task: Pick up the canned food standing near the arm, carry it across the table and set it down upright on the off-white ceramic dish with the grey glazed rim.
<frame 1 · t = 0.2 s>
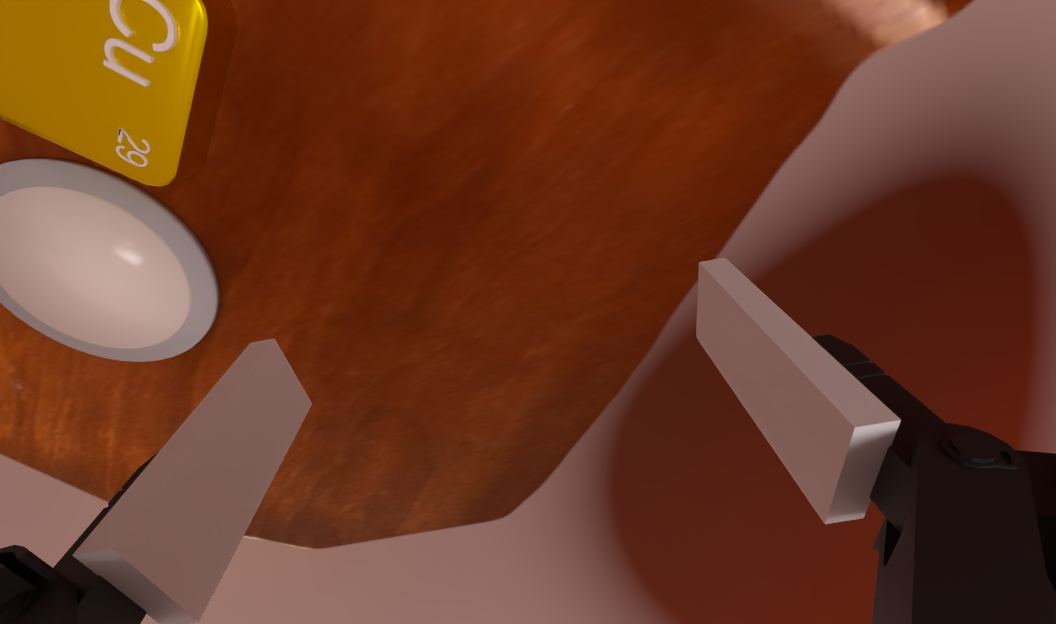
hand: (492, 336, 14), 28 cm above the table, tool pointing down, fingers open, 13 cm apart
dish: (102, 269, 41), on the table
element tile: (116, 43, 33), on the table
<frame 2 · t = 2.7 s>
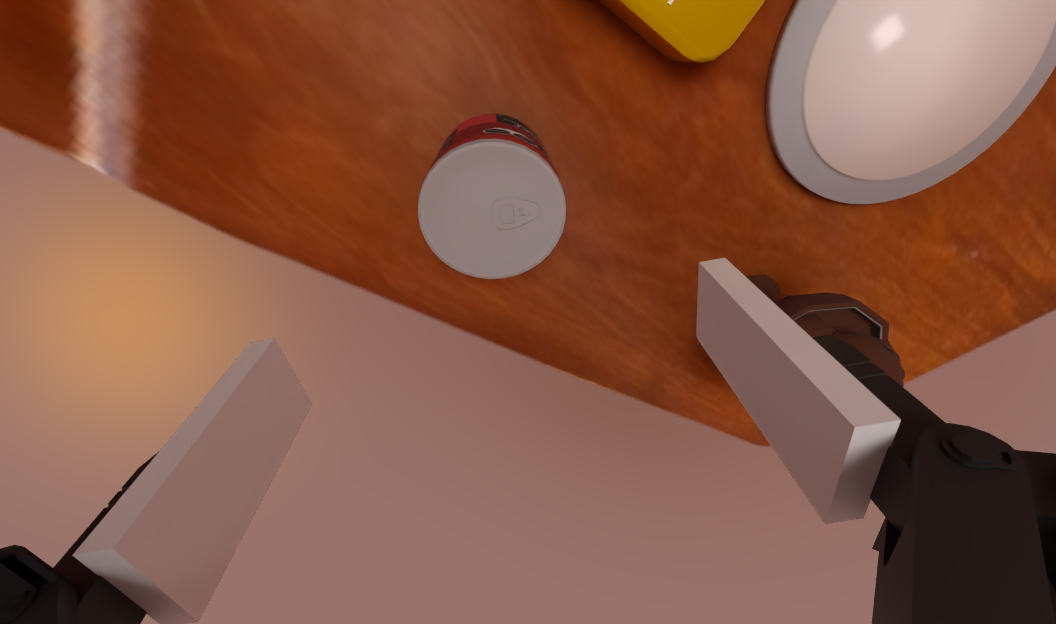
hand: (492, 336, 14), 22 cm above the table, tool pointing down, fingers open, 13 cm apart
canned food: (493, 167, 33), on the table
ice cream bowl: (748, 300, 40), on the table
dish: (909, 59, 31), on the table
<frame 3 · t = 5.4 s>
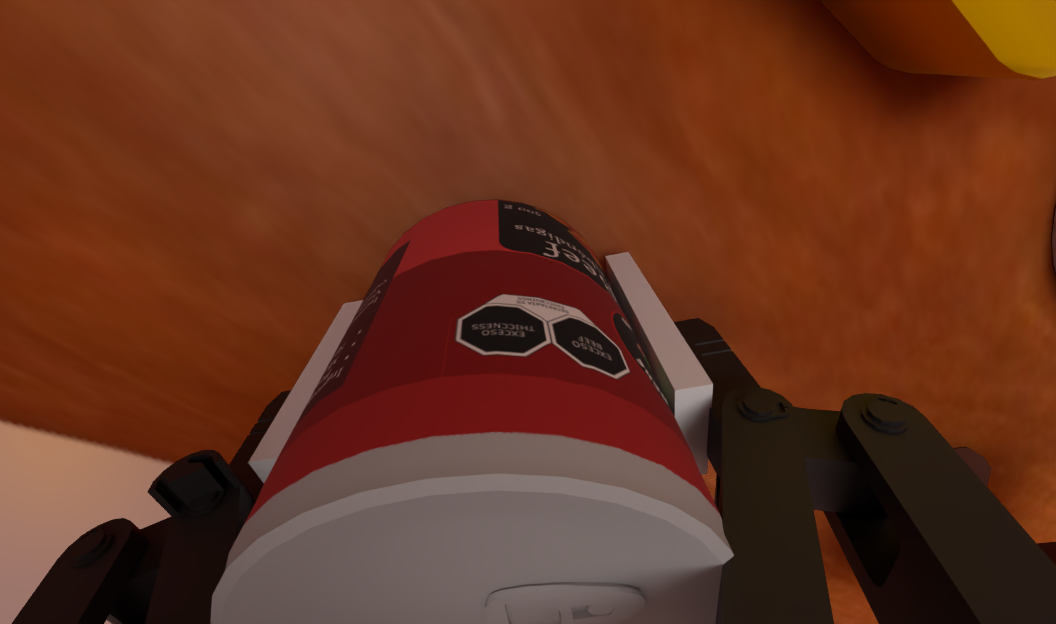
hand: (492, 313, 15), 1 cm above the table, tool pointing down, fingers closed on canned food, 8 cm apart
canned food: (493, 292, 16), on the table, touching gripper
ice cream bowl: (926, 479, 24), on the table
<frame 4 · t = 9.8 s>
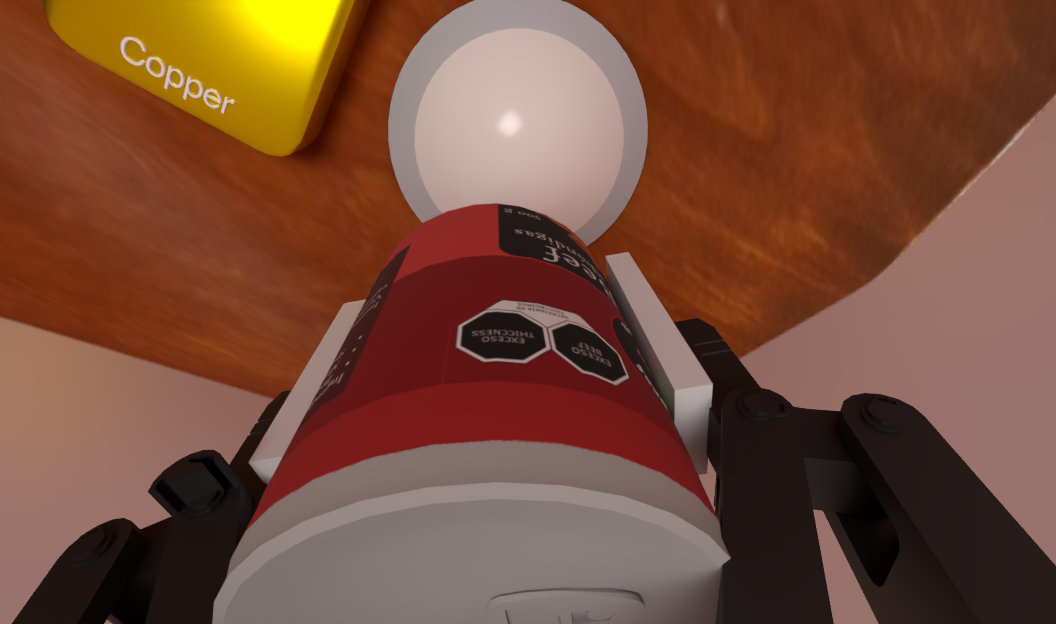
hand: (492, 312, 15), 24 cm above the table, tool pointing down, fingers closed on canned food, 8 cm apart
canned food: (493, 295, 16), point 22 cm above the table, touching gripper
dish: (519, 148, 35), on the table
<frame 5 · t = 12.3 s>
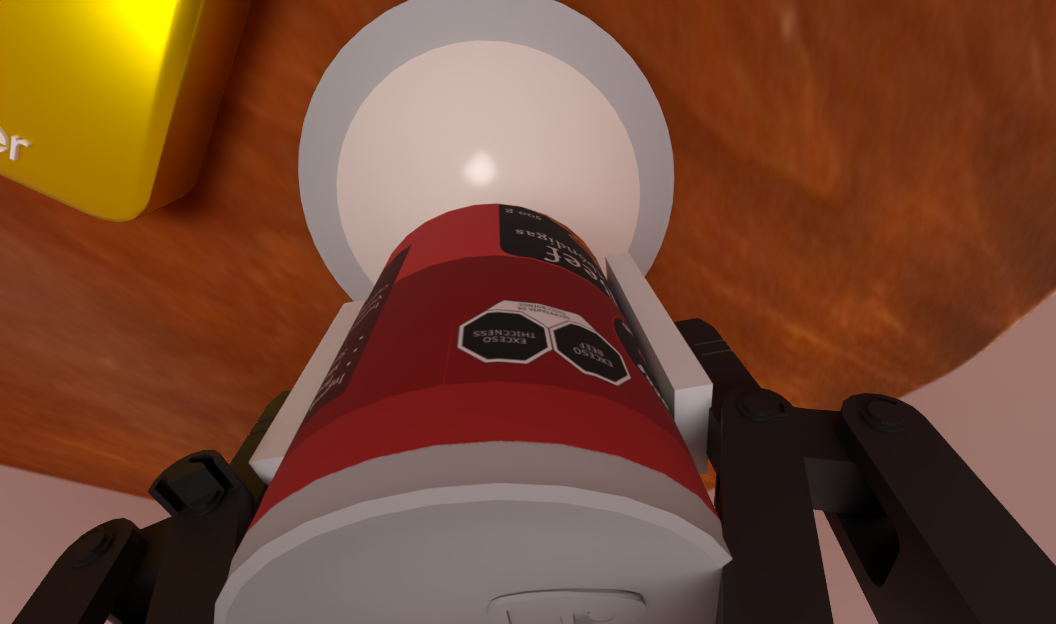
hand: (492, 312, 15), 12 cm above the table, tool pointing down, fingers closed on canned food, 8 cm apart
canned food: (494, 295, 16), point 10 cm above the table, touching gripper
dish: (492, 206, 25), on the table
when the fingers open (5 cm above the table, at t = 14.5 s): canned food drops 2 cm, resting on dish.
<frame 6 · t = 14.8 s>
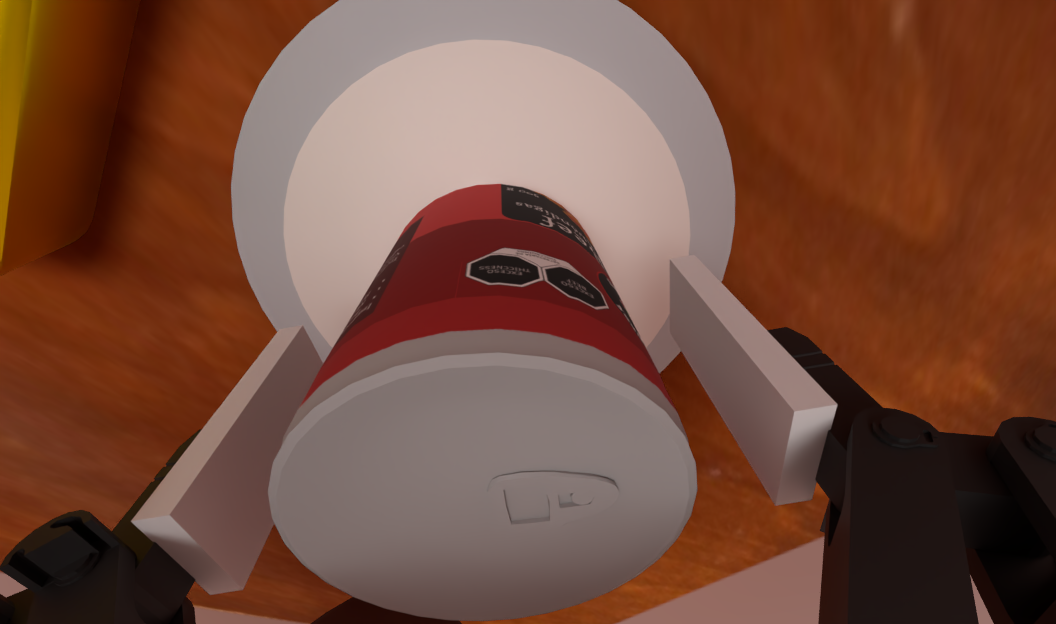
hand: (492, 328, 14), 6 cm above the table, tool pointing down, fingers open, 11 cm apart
canned food: (495, 271, 18), point 1 cm above the table, touching dish
ice cream bowl: (410, 527, 29), on the table
dish: (493, 256, 19), on the table
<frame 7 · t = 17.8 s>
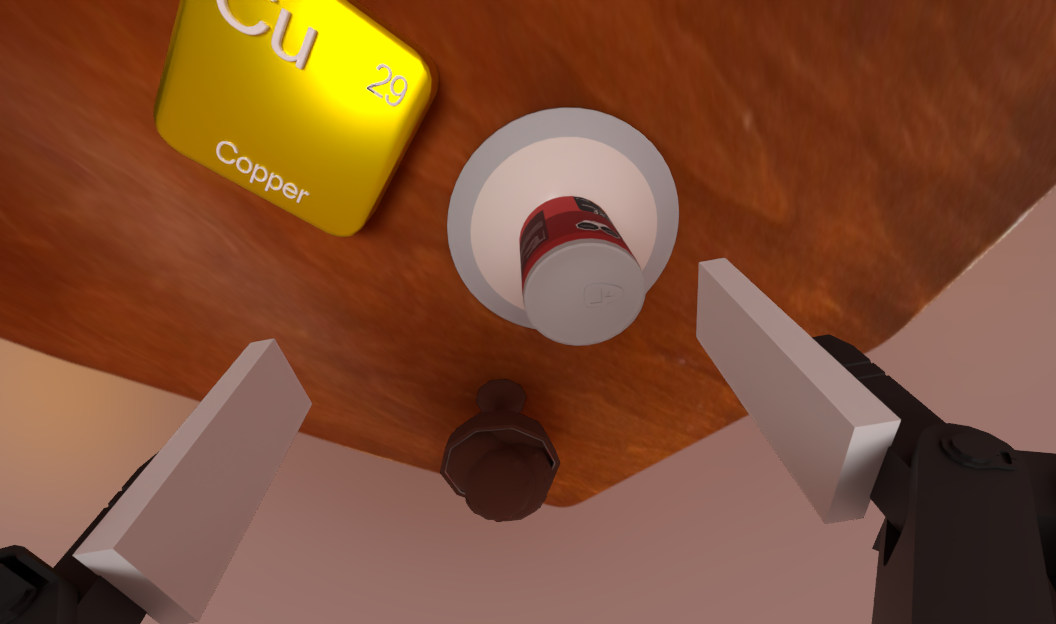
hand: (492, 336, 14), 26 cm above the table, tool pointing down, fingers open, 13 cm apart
canned food: (564, 236, 38), point 1 cm above the table, touching dish
ice cream bowl: (501, 397, 49), on the table
dish: (562, 230, 39), on the table
element tile: (315, 98, 33), on the table
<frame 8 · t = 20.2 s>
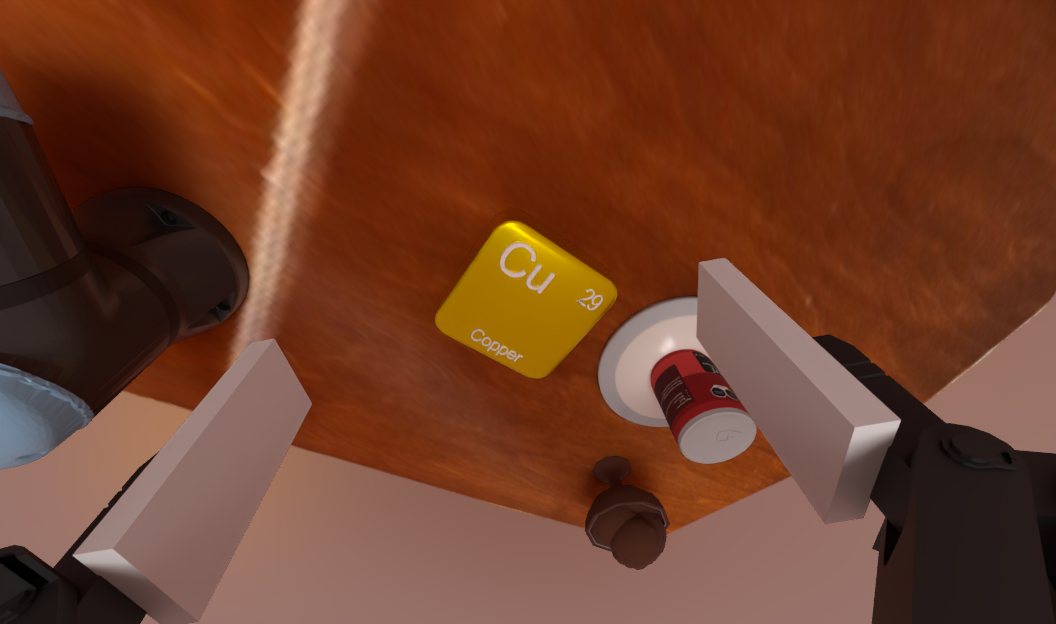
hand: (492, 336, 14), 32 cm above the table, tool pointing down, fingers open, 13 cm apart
canned food: (679, 371, 55), point 1 cm above the table, touching dish
ice cream bowl: (611, 467, 66), on the table
dish: (675, 364, 56), on the table
element tile: (523, 289, 50), on the table
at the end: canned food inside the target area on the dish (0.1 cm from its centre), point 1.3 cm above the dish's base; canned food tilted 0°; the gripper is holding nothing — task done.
